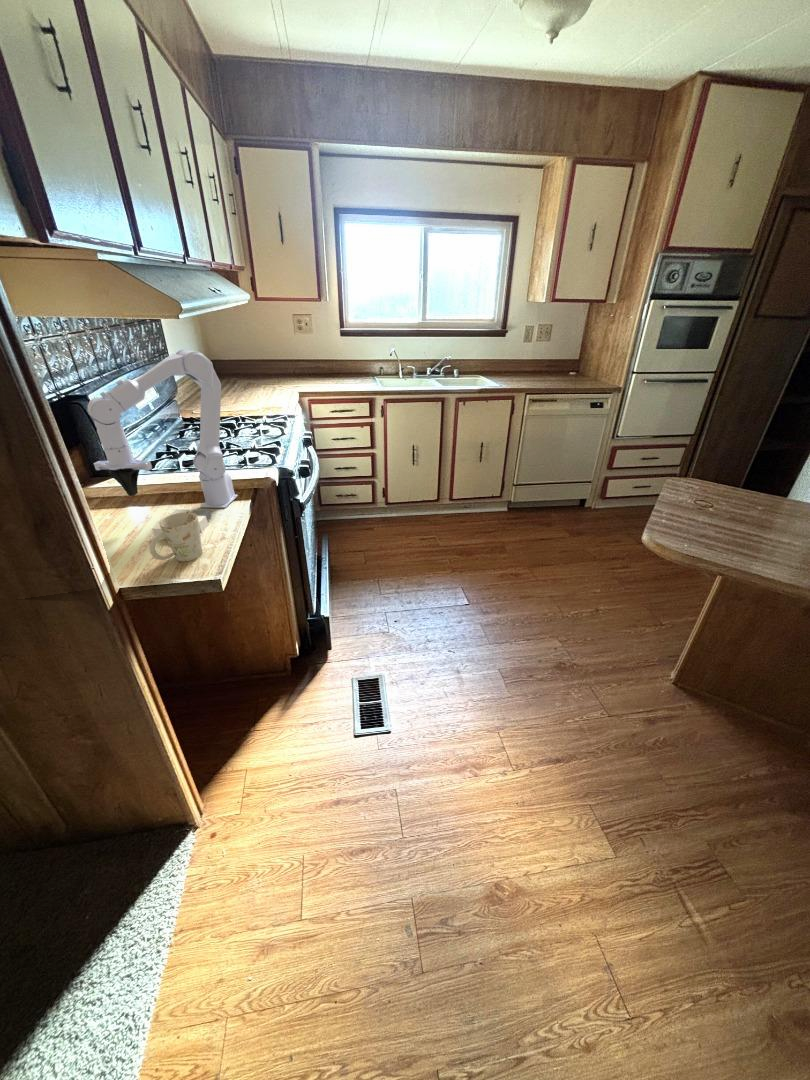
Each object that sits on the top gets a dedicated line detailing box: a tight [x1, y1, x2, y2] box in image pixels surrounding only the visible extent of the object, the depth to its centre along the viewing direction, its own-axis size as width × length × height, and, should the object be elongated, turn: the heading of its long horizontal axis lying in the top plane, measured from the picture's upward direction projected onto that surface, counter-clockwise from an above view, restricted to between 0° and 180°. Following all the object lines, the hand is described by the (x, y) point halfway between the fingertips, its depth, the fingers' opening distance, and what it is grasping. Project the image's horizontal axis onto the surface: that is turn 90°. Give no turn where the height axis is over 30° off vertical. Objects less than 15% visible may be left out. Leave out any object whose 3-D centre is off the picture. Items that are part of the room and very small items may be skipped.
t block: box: [151, 508, 209, 540], centre depth 119 cm, size 12×11×3 cm
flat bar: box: [164, 509, 212, 543], centre depth 119 cm, size 16×5×2 cm, turn 176°
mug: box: [149, 511, 203, 562], centre depth 103 cm, size 8×13×10 cm, turn 149°
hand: (133, 494), depth 117 cm, fingers closed
